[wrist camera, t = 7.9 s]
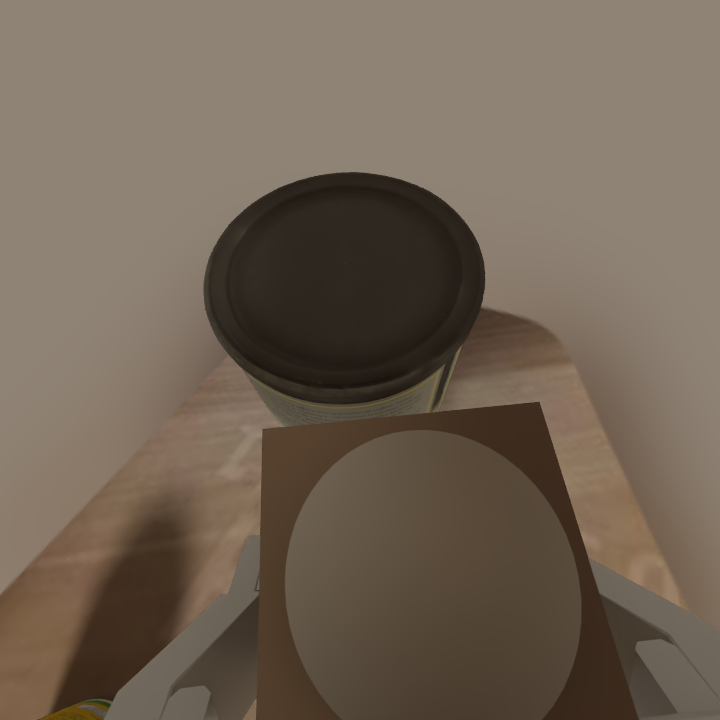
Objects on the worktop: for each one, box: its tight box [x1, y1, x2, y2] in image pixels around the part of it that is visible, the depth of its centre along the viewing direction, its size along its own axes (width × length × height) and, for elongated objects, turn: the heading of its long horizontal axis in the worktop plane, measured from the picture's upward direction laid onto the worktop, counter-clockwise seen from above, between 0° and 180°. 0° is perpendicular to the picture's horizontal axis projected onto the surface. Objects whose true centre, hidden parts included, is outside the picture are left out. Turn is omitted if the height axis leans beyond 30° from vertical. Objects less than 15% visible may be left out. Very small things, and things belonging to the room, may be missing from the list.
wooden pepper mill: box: [256, 402, 639, 720], centre depth 9 cm, size 4×4×12 cm
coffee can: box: [204, 172, 485, 427], centre depth 21 cm, size 10×10×14 cm
